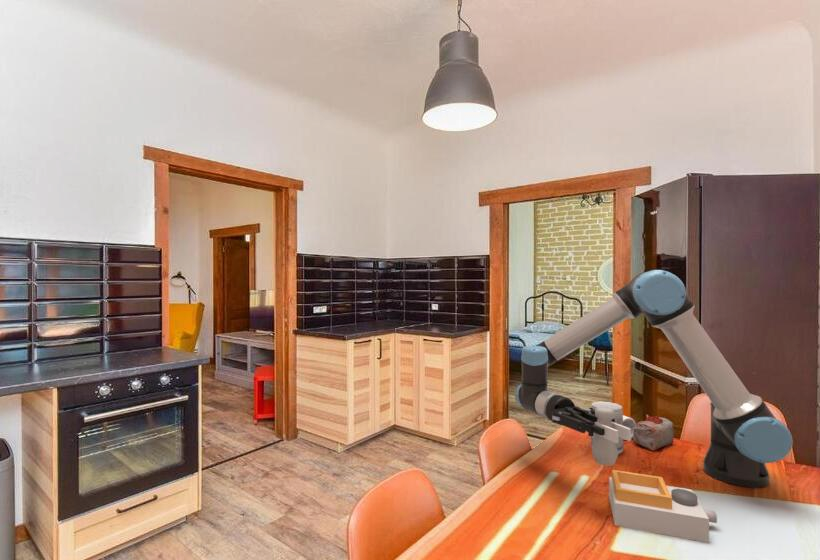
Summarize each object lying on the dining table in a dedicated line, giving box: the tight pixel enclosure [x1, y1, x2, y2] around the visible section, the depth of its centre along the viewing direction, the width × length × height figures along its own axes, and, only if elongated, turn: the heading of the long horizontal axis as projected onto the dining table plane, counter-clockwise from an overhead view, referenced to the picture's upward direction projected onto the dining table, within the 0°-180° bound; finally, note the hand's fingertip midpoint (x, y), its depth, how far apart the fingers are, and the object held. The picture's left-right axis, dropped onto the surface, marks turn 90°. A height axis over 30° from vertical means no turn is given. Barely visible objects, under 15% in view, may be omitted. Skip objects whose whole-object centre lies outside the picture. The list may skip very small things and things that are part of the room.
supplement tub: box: [590, 401, 624, 455], centre depth 141 cm, size 10×10×15 cm
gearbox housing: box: [608, 469, 718, 544], centre depth 100 cm, size 21×14×8 cm, turn 70°
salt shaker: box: [591, 407, 619, 467], centre depth 104 cm, size 6×6×13 cm
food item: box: [632, 414, 675, 451], centre depth 146 cm, size 14×8×10 cm, turn 123°
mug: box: [623, 414, 637, 441], centre depth 155 cm, size 12×10×8 cm
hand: (623, 435), depth 99 cm, fingers closed on salt shaker, 3 cm apart
